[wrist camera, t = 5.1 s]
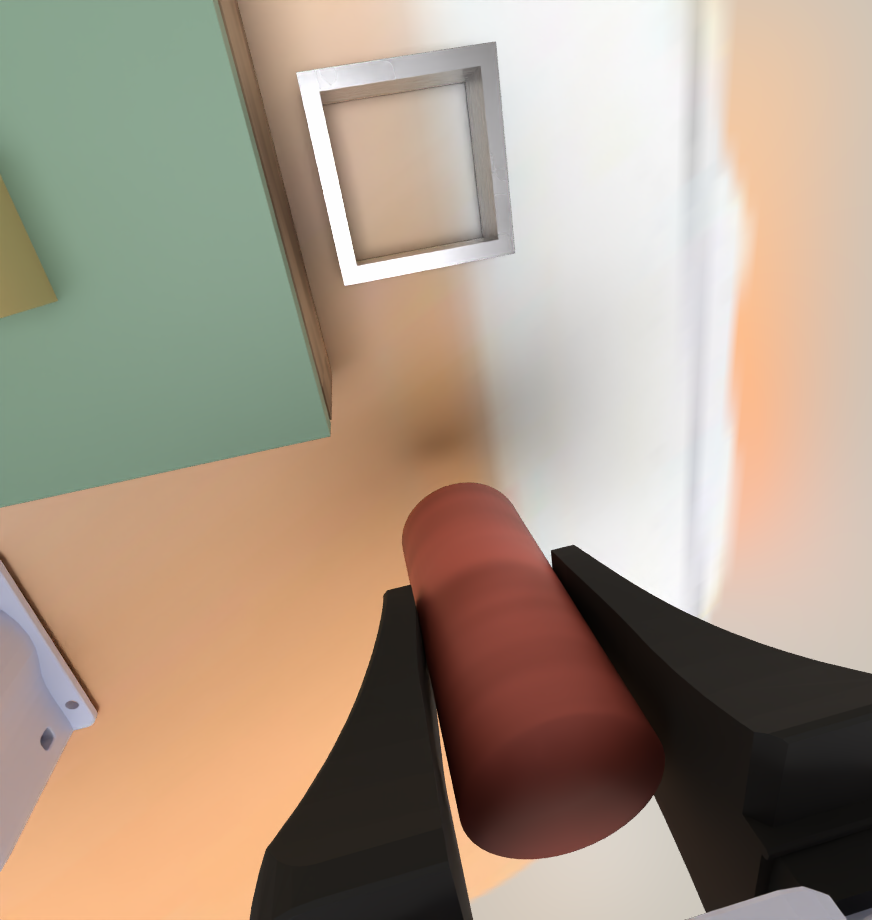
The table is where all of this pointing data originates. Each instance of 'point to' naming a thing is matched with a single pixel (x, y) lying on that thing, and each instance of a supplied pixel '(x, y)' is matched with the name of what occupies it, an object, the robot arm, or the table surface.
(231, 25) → the wooden box
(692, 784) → the robot arm
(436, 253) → the key socket
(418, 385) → the table surface
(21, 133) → the lid
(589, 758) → the key peg
